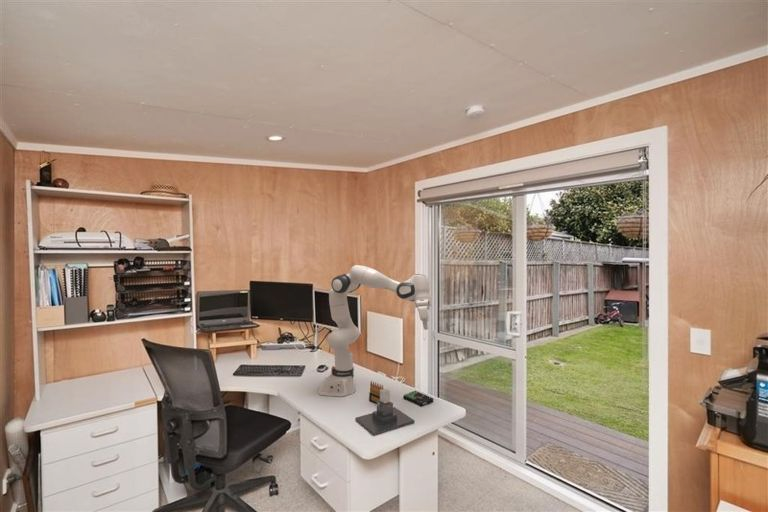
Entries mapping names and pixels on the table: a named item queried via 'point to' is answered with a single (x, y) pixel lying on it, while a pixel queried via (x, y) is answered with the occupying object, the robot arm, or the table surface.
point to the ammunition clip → (374, 392)
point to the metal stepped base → (384, 419)
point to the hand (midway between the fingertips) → (425, 329)
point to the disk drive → (418, 398)
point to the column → (384, 396)
